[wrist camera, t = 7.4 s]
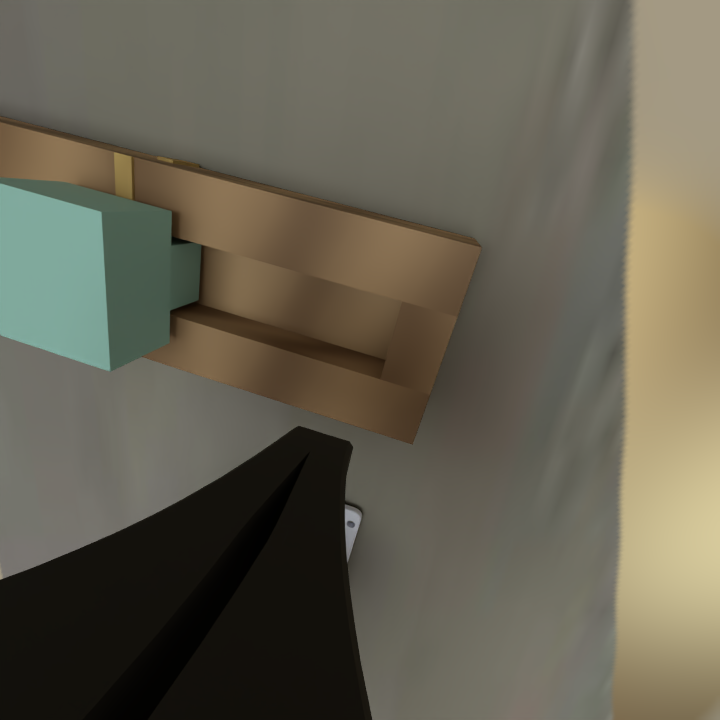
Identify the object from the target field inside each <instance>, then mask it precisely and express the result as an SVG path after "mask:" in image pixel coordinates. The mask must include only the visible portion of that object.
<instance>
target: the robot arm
mask: <svg viewBox="0 0 720 720" xmlns="http://www.w3.org/2000/svg"><path fill="white" fill-rule="evenodd" d="M352 450H353V446H352V445H351V443H350V442H349V441H346V440H343V439H340V438H336V437H333V436H330V435H327V434H323V433H320V432H317V431H314V430H310V429H307V428H304V427H301V426H298V427H296V428H294V429H293V430H291V431H290V432H288V433H287V434H285V435H284V436H283V437H281V438H280V439H278V440H277V441H276V442H274V443H273V444H271V445H270V446H268V447H267V448H265V449H264V450H263V451H261V452H260V453H258V454H257V455H255V456H254V457H252V458H251V459H249V460H247V461H246V462H244V463H243V464H241V465H240V466H238V467H236V468H235V469H233V470H232V471H230V472H229V473H227V474H225V475H224V476H222V477H220V478H219V479H217V480H215V481H214V482H212V483H210V484H208V485H207V486H205V487H203V488H201V489H200V490H198V491H196V492H194V493H193V494H191V495H189V496H187V497H186V498H184V499H182V500H180V501H179V502H177V503H175V504H173V505H171V506H169V507H167V508H165V509H163V510H161V511H159V512H157V513H156V514H154V515H152V516H150V517H148V518H145V519H143V520H141V521H139V522H137V523H135V524H133V525H131V526H129V527H127V528H125V529H123V530H120V531H118V532H116V533H114V534H112V535H109V536H107V537H105V538H102V539H100V540H98V541H96V542H93V543H91V544H89V545H86V546H84V547H82V548H80V549H77V550H75V551H72V552H70V553H68V554H65V555H63V556H60V557H58V558H56V559H53V560H51V561H48V562H46V563H43V564H41V565H39V566H36V567H34V568H31V569H28V570H26V571H23V572H20V573H18V574H15V575H12V576H9V577H7V578H4V579H1V580H0V720H372V716H371V711H370V706H369V701H368V696H367V691H366V686H365V681H364V676H363V671H362V666H361V661H360V655H359V649H358V642H357V636H356V630H355V623H354V616H353V609H352V601H351V594H350V585H349V576H348V565H347V563H348V560H349V557H350V553H351V550H352V547H353V544H354V541H355V538H356V534H357V531H358V528H359V525H360V522H361V518H362V513H361V511H360V510H359V509H357V508H354V507H352V506H349V505H346V504H345V486H346V475H347V471H348V467H349V462H350V458H351V454H352ZM350 521H352V522H354V523H351V522H350Z"/></svg>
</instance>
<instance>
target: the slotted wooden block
mask: <svg viewBox="0 0 720 720" xmlns="http://www.w3.org/2000/svg"><path fill="white" fill-rule="evenodd" d="M0 177H3V178H18V179H32V180H47V181H61V182H67V183H71V184H75V185H78V186H82V187H86V188H89V189H93V190H97V191H100V192H104V193H108V194H111V195H115V196H118V197H122V198H126V199H129V200H133V201H137V202H140V203H144V204H148V205H151V206H155V207H159V208H162V209H166V210H169V211H172V226H171V236H172V237H176V238H180V239H183V240H187V241H190V242H194V243H197V244H201V263H200V283H199V300H197V301H195V302H192V303H189V304H186V305H184V306H181V307H178V308H176V309H173V310H170V343H169V344H166V345H164V346H162V347H160V348H158V349H156V350H154V351H152V352H150V353H148V354H146V355H144V356H142V357H144V358H147V359H150V360H153V361H156V362H159V363H162V364H165V365H169V366H172V367H175V368H178V369H181V370H184V371H187V372H190V373H193V374H196V375H199V376H203V377H206V378H209V379H212V380H215V381H218V382H221V383H224V384H227V385H230V386H233V387H237V388H240V389H243V390H246V391H249V392H252V393H255V394H258V395H261V396H264V397H267V398H271V399H274V400H277V401H280V402H283V403H286V404H289V405H292V406H295V407H298V408H301V409H304V410H308V411H311V412H314V413H317V414H320V415H323V416H326V417H329V418H332V419H335V420H338V421H342V422H345V423H348V424H351V425H354V426H357V427H360V428H363V429H366V430H369V431H372V432H376V433H379V434H382V435H385V436H388V437H391V438H394V439H397V440H400V441H403V442H406V443H410V444H413V442H414V439H415V436H416V433H417V431H418V428H419V425H420V422H421V419H422V416H423V414H424V411H425V408H426V405H427V402H428V399H429V397H430V394H431V391H432V388H433V385H434V382H435V380H436V377H437V374H438V371H439V368H440V365H441V363H442V360H443V357H444V354H445V351H446V348H447V345H448V343H449V340H450V337H451V334H452V331H453V328H454V326H455V323H456V320H457V317H458V314H459V311H460V309H461V306H462V303H463V300H464V297H465V294H466V292H467V289H468V286H469V283H470V280H471V277H472V275H473V272H474V269H475V266H476V263H477V260H478V257H479V255H480V252H481V249H482V247H481V246H480V245H479V243H478V242H477V241H476V240H475V239H474V238H470V237H467V236H463V235H459V234H455V233H451V232H447V231H443V230H439V229H436V228H432V227H428V226H424V225H420V224H416V223H412V222H408V221H405V220H401V219H397V218H393V217H389V216H385V215H381V214H377V213H374V212H370V211H366V210H362V209H358V208H354V207H350V206H346V205H343V204H339V203H335V202H331V201H327V200H323V199H319V198H315V197H312V196H308V195H304V194H300V193H296V192H292V191H288V190H284V189H281V188H277V187H273V186H269V185H265V184H261V183H257V182H253V181H250V180H246V179H242V178H238V177H234V176H230V175H226V174H222V173H219V172H215V171H211V170H207V169H203V168H199V165H198V164H195V163H191V162H187V161H182V160H176V159H171V158H165V157H160V156H153V155H149V154H145V153H141V152H137V151H133V150H129V149H126V148H122V147H118V146H114V145H110V144H106V143H102V142H98V141H95V140H91V139H87V138H83V137H79V136H75V135H71V134H67V133H64V132H60V131H56V130H52V129H48V128H44V127H40V126H36V125H33V124H29V123H25V122H21V121H17V120H13V119H9V118H5V117H2V116H0Z"/></svg>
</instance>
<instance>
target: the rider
mask: <svg viewBox="0 0 720 720" xmlns="http://www.w3.org/2000/svg"><path fill="white" fill-rule="evenodd" d="M171 226H172V211H169V210H166V209H162V208H159V207H155V206H151V205H148V204H144V203H140V202H137V201H133V200H129V199H126V198H122V197H118V196H115V195H111V194H108V193H104V192H100V191H97V190H93V189H89V188H86V187H82V186H78V185H75V184H71V183H67V182H61V181H47V180H32V179H18V178H3V177H0V335H1V336H4V337H7V338H10V339H13V340H16V341H19V342H22V343H25V344H29V345H32V346H35V347H38V348H41V349H44V350H47V351H50V352H53V353H56V354H59V355H62V356H65V357H68V358H71V359H74V360H77V361H80V362H83V363H86V364H89V365H92V366H95V367H98V368H101V369H104V370H107V371H110V372H111V371H113V370H115V369H117V368H119V367H121V366H123V365H125V364H127V363H129V362H131V361H133V360H135V359H138V358H140V357H142V356H144V355H146V354H148V353H150V352H152V351H154V350H156V349H158V348H160V347H162V346H164V345H166V344H169V343H170V310H173V309H176V308H178V307H181V306H184V305H186V304H189V303H192V302H195V301H197V300H199V283H200V263H201V244H197V243H194V242H190V241H187V240H183V239H180V238H176V237H172V236H171Z"/></svg>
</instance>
